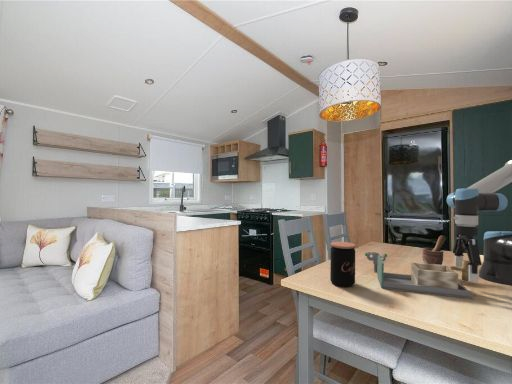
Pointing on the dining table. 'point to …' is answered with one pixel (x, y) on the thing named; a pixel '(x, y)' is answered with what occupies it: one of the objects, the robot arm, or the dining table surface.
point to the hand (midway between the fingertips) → (465, 276)
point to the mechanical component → (375, 258)
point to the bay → (406, 284)
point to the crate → (438, 274)
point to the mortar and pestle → (434, 253)
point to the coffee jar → (342, 264)
